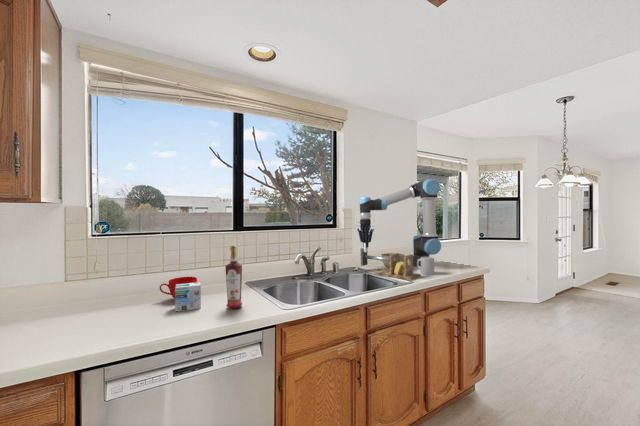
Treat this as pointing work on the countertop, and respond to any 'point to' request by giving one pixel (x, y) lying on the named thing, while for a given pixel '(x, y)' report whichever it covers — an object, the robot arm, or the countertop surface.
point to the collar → (398, 268)
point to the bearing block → (407, 268)
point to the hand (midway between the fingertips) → (365, 252)
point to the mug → (426, 265)
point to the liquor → (233, 280)
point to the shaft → (365, 257)
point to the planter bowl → (394, 257)
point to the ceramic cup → (177, 281)
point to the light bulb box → (187, 296)
